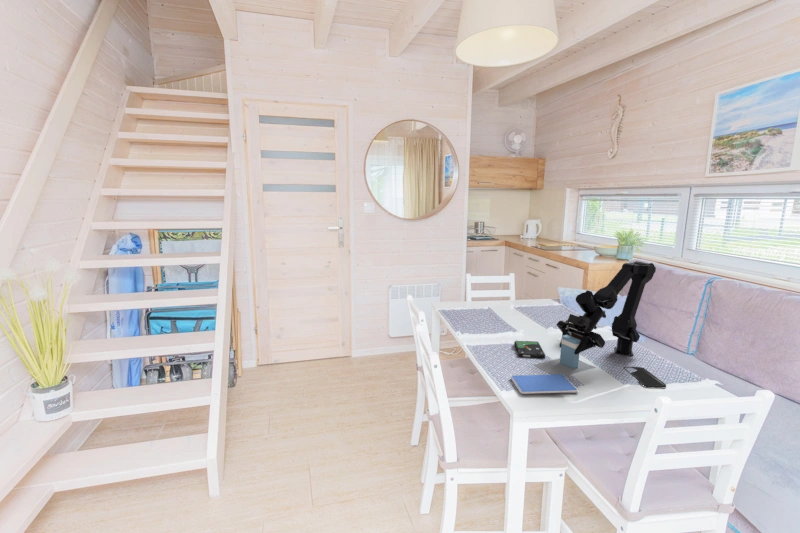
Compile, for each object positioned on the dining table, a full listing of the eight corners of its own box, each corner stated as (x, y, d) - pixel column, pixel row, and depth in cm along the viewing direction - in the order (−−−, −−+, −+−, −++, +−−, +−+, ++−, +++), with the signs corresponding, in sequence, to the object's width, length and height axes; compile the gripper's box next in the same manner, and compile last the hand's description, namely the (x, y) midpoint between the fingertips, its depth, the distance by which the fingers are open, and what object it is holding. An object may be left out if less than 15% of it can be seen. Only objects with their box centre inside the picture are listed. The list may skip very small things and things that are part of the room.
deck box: (564, 360, 155) (566, 334, 153) (578, 367, 150) (580, 340, 148) (559, 362, 154) (561, 335, 152) (573, 368, 149) (575, 341, 147)
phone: (642, 367, 150) (667, 385, 136) (642, 369, 151) (667, 388, 136) (621, 366, 151) (644, 385, 136) (621, 369, 151) (644, 388, 136)
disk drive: (545, 361, 158) (537, 347, 172) (545, 355, 157) (538, 340, 172) (518, 359, 159) (513, 345, 174) (519, 353, 159) (513, 339, 173)
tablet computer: (562, 376, 142) (563, 373, 142) (579, 393, 130) (579, 390, 129) (509, 378, 142) (509, 375, 141) (521, 396, 129) (521, 392, 129)
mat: (569, 357, 161) (569, 355, 161) (595, 368, 150) (595, 367, 150) (533, 366, 152) (533, 364, 152) (557, 379, 141) (557, 377, 141)
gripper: (561, 301, 158) (539, 331, 155) (603, 313, 141) (579, 347, 139) (573, 317, 163) (552, 346, 160) (615, 331, 146) (592, 364, 143)
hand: (567, 350), depth 150 cm, fingers closed on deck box, 6 cm apart
